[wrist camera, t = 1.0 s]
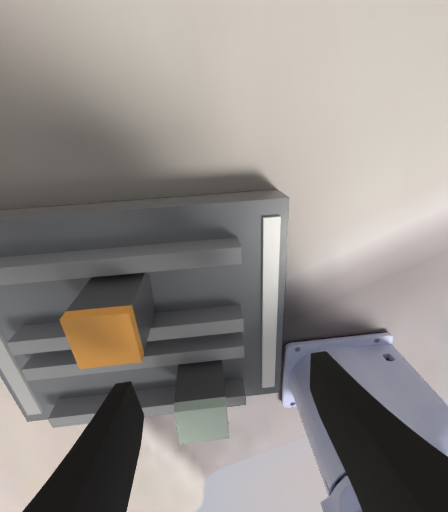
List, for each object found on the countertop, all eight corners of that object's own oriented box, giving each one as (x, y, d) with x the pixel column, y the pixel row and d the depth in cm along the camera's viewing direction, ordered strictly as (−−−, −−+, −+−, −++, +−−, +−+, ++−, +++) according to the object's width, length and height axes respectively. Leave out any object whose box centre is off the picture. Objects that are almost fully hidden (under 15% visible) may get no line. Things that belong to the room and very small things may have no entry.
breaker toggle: (147, 267, 16) (128, 313, 12) (155, 308, 17) (141, 362, 13) (95, 272, 15) (59, 319, 11) (108, 313, 17) (79, 369, 13)
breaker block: (277, 189, 17) (324, 222, 10) (271, 367, 24) (298, 452, 17) (-48, 213, 16) (-214, 266, 9) (44, 393, 23) (-16, 493, 16)
